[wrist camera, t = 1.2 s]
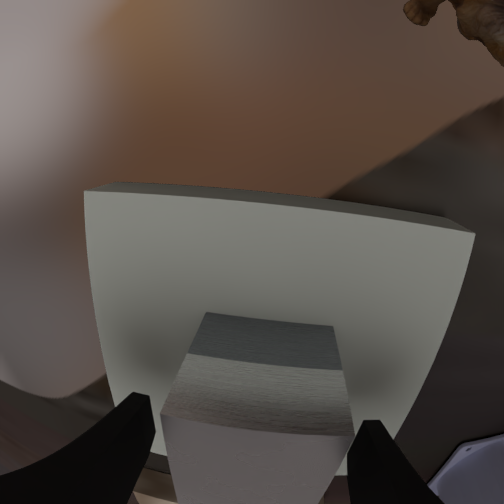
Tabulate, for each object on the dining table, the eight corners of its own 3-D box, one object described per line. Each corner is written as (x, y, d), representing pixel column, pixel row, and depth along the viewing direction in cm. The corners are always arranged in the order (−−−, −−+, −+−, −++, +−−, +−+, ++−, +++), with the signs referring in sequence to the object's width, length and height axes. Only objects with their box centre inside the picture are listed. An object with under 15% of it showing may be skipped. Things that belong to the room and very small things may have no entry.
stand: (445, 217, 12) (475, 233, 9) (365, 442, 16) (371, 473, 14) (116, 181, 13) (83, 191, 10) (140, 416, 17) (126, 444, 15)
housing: (333, 326, 11) (355, 435, 6) (303, 432, 13) (303, 525, 8) (206, 311, 11) (159, 413, 6) (205, 421, 13) (179, 510, 8)
